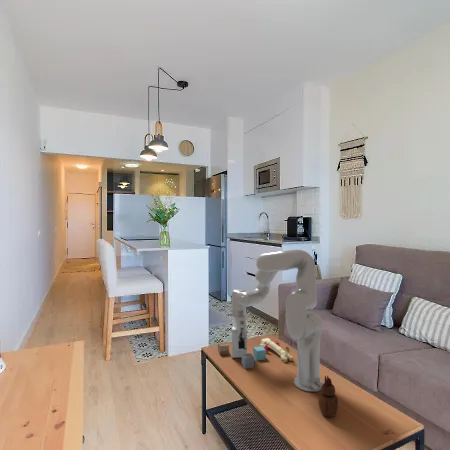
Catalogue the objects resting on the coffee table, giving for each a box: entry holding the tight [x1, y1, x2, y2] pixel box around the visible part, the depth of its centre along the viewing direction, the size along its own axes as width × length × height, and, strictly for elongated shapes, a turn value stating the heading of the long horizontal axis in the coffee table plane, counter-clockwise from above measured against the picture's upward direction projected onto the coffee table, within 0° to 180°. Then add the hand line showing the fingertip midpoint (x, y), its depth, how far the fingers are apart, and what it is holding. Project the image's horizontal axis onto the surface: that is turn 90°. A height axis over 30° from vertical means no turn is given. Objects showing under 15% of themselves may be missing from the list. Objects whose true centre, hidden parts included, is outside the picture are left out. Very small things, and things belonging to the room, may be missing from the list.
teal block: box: [252, 345, 267, 361], centre depth 163 cm, size 5×5×5 cm
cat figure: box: [259, 337, 294, 364], centre depth 169 cm, size 10×9×25 cm
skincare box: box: [231, 326, 248, 359], centre depth 165 cm, size 8×6×15 cm
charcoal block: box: [241, 353, 255, 369], centre depth 154 cm, size 5×5×5 cm
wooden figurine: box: [318, 375, 339, 418], centre depth 114 cm, size 7×6×15 cm
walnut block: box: [217, 341, 230, 356], centre depth 169 cm, size 5×5×5 cm
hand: (239, 345), depth 165 cm, fingers closed on skincare box, 7 cm apart
